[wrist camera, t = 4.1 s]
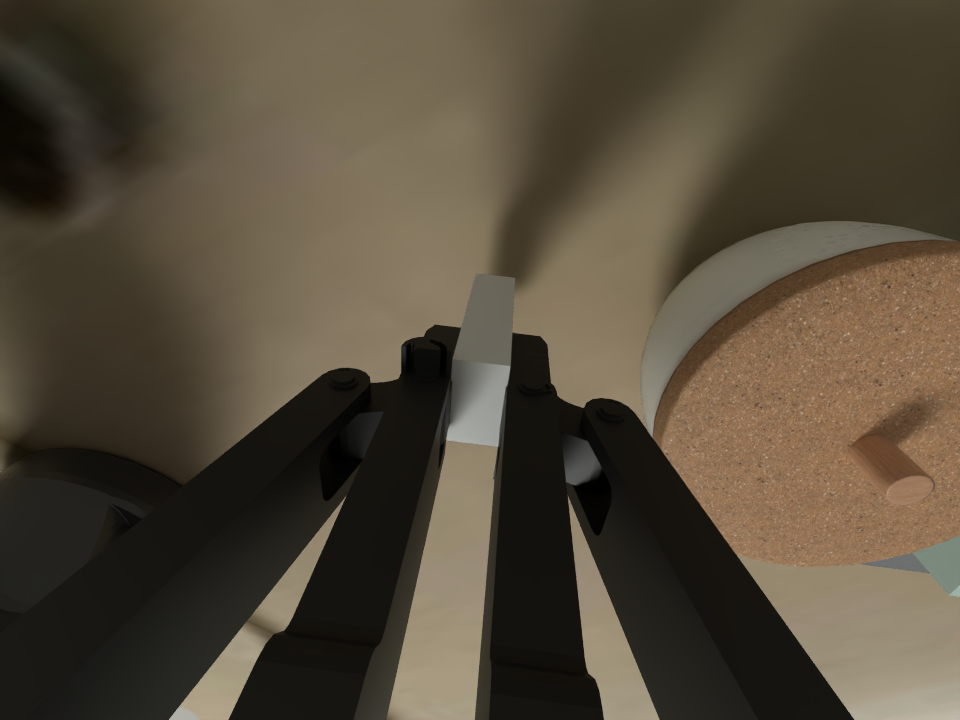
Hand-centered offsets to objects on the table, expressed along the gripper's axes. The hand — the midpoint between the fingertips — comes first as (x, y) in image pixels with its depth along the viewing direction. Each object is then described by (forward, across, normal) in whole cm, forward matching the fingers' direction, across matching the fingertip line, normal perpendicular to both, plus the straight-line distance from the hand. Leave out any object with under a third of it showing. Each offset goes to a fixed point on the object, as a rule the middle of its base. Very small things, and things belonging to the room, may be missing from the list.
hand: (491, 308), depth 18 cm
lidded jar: (+2, +11, 0) cm, 11 cm away
